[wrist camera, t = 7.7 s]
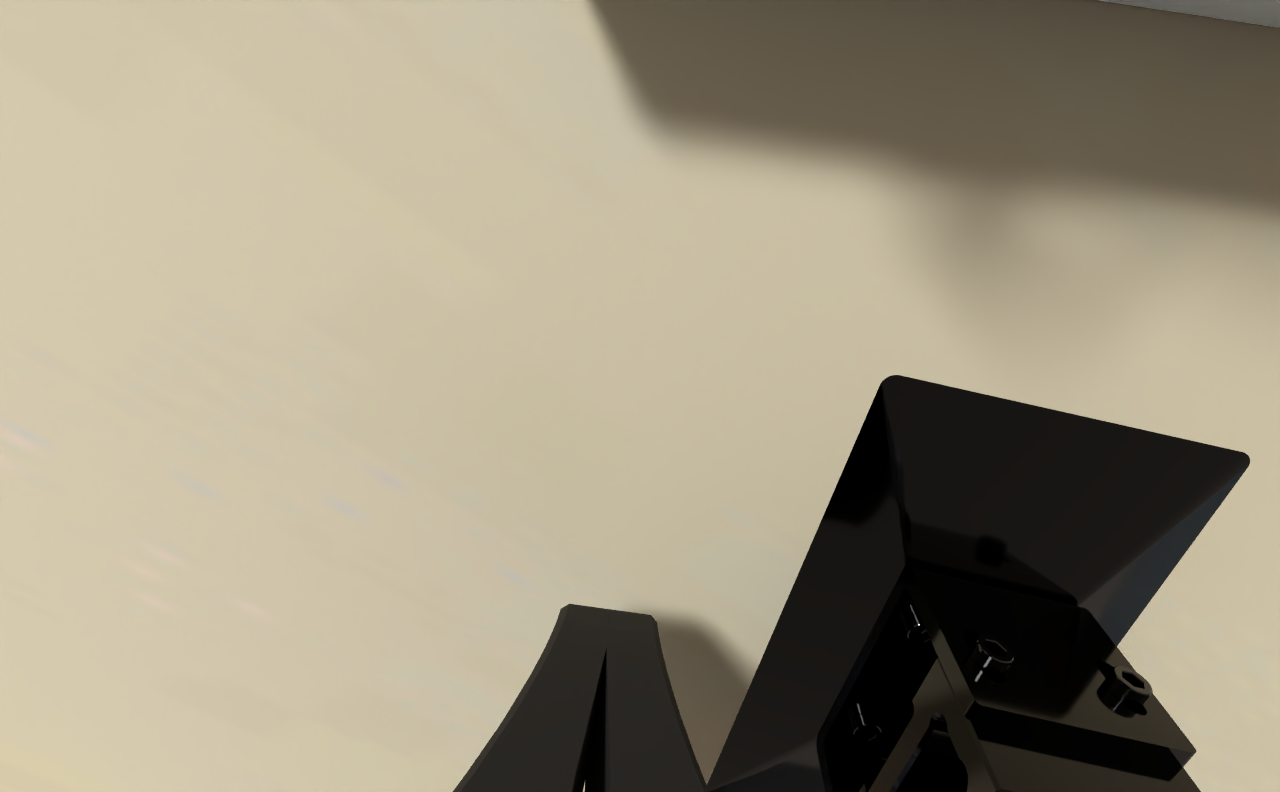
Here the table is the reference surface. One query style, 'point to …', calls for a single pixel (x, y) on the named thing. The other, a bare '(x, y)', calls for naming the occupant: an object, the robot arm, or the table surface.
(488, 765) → the robot arm
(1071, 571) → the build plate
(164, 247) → the table surface
